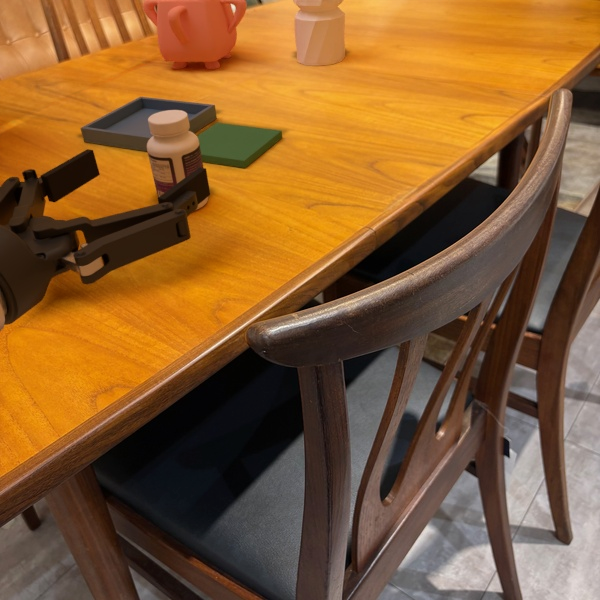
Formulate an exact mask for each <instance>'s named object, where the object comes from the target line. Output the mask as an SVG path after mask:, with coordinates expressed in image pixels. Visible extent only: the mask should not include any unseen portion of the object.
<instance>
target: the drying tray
mask: <svg viewBox="0 0 600 600" xmlns="http://www.w3.org/2000/svg"><path fill="white" fill-rule="evenodd" d="M216 109H217V108H216V105H215V104H210V103H201V102H192V101H183V100H176V99H175V100H174V99H166V98H156V97H148V96H139V97H137V98H135V99H133V100H131V101H129V102H128V103H125V104H123V105H122V106H119V107H118V108H116V109H114V110H112V111H110V112H108V113H106V114H105V115H103V116H100V117H98V118H97V119H95V120H93V121H92V122H89V123H87V124H86V125H83V126H81V127H80V132H81V135H82V140H83V142H84V143H87V144H94V145H102V146H108V147H114V148H120V149H128V150H133V151H141V152H147V143H148V141H149V139H150V138H151V137H152V136H153V135H152V134H151V132H150V128H149V123H148V118H149V117H150V116H151V115H153V114H155V113H158V112H161V111H167V110H181V111H184V112H186V113H187V115H188V120H189V124H190V125H189V126H190V128H189V130H188V131H191V132H193V133H194V134H196V133H197V132H199V131H201V130H202V129H203V128H205V127H206V126H208V125H209V124H211V123H212V122H214V121H215V120H217V117H218V116H217V110H216ZM147 153H148V152H147Z"/></svg>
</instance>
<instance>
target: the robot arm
mask: <svg viewBox="0 0 600 600" xmlns="http://www.w3.org/2000/svg"><path fill="white" fill-rule="evenodd" d="M21 174H22V177H23V179H24V181H21V179H20V177H18V176H11V177H8V178H7V179H5V180H4V181H3V183H2V184H1V185H0V332H1V331H2V330H3V329H4V328H5V326H8V325H11V324H13V323H15V322H16V321H17V320H18V319H20V318H21V317H23V316H24V315H25V314H26V313H28V312H30V310H32V309H33V308H35V306H37V305H38V304H40V303H41V302H42V301H43V299H44V298H45V296H46V293H47V290H48V287H49V284H50V282H51V281H52V279H53V278H55V277H57V276H59V275H61V274H64V273H67V272H69V271H72V272H75V273H77V274H78V275H79V277H80V280H81V283H82V284H83V285H91V284H95V283H96V282H97V281H99V280H100V279H102V278H103V277H104V276H107V275H108V274H109V273H110V272H112V271H115V270H118V269H120V268H122V267H125V266H127V265H129V264H132V263H135V262H137V261H139V260H142V259H144V258H147V257H150V256H152V255H154V254H157V253H159V252H161V251H163V250H166V249H169V248H172V247H173V246H176V245H179V244H181V243H184V242H187V241H188V240H190V239H191V237H192V235H191V231H190V224H189V220H188V219H189V218H188V217H189V216H190V215H191V214H193V213H194V212H195V211H197V210H198V209H197V207H198V204H199V203H201V202H202V201H203V200H204V199H206V198H207V197H208V198H209V197H210V195H211V192H210V191H211V190H210V185H209V180H208V179H209V178H208V172H207V168H205V167H203V168H200V167H199V168H198V169H196V170H195V171H194V172H192V173H191V174H190V175H188V176H187V177H185V178H184V179H183V180H181V181H180V182H179V183H177V184H176V185H175V186H173V187H172V188H170V189H169V190H168V191H166V192H165V193H164V194H162V195H161V196H160V197H158V196H157V201H158V203H155V204H152V205H148V206H145V207H140V208H136V209H132V210H128V211H124V212H120V213H116V214H111V215H108V216H103V217H98V218H95V219H90V218H88V216H79V217H75V218H70V219H67V220H66V219H55V218H53V217H51V216H48V215H44V213H45V208H46V202H47V200H46V197H47V199H48V202H50V203H57V202H58V201H60V200H62V199H63V198H65V197H67V196H68V195H70V194H71V193H73V192H75V191H76V190H77V189H79V188H80V187H82V186H84V185H86V184H88V183H89V182H90V181H92V180H94V179H95V178H97V177H99V176H100V175H101V173H100V171H99V167H98V163H97V160H96V155H95V152H94V150H93V149H85V150H83V151H81V152H80V153H78V154H76V155H75V156H73V157H70V158H69V159H67V160H66V161H63V162H61V163H60V164H59V165H57V166H55V167H53V168H52V169H49V170H48V171H46V172H44V173H42V174H41V175H40V176H38V173H37V171H36V169H33V168H30V169H26V170H23V171H22V172H21ZM196 209H197V210H196ZM77 231H81V232H82V233H83V237H84V240H85V242H84V243H80V239H79V235H78V232H77Z"/></svg>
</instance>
